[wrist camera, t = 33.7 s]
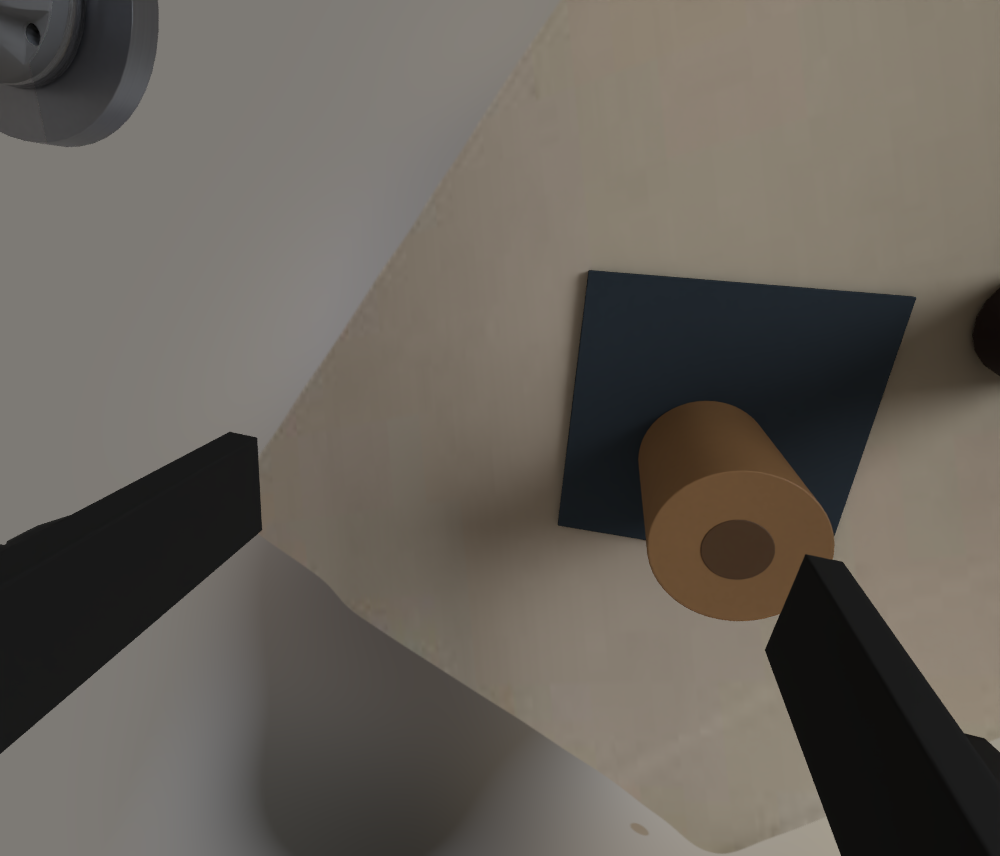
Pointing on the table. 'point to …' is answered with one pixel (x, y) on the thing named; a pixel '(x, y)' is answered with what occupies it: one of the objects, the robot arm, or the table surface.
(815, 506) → the paper roll
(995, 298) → the bottle
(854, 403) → the slate mat
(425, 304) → the table surface
